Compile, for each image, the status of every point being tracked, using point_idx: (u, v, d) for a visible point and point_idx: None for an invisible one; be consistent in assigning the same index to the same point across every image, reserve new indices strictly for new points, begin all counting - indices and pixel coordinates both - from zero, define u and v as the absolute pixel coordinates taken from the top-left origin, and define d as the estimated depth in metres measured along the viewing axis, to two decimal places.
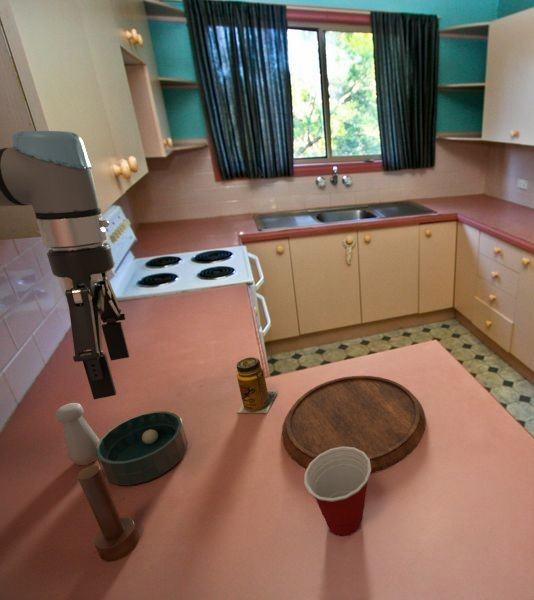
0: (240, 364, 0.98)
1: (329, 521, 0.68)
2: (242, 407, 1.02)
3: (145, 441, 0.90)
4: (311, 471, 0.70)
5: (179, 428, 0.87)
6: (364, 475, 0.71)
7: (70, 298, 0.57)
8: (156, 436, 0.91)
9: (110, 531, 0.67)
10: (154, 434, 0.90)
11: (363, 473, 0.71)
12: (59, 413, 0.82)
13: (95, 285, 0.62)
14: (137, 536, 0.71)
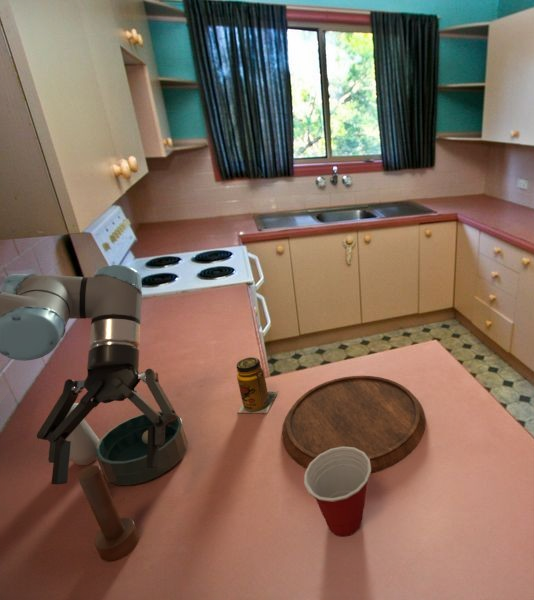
0: (240, 364, 0.98)
1: (329, 521, 0.68)
2: (242, 407, 1.02)
3: (145, 441, 0.90)
4: (311, 471, 0.70)
5: (179, 428, 0.87)
6: (364, 475, 0.71)
7: (153, 374, 0.74)
8: None
9: (110, 531, 0.67)
10: None
11: (363, 473, 0.71)
12: None
13: None
14: (137, 536, 0.71)
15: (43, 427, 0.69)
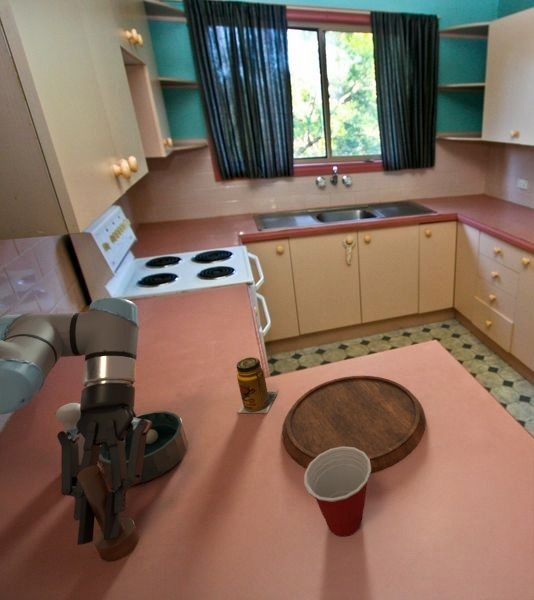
0: (240, 364, 0.98)
1: (329, 521, 0.68)
2: (242, 407, 1.02)
3: None
4: (311, 471, 0.70)
5: (179, 428, 0.87)
6: (364, 475, 0.71)
7: (145, 427, 0.70)
8: (156, 436, 0.91)
9: None
10: (154, 434, 0.90)
11: (363, 473, 0.71)
12: (59, 413, 0.82)
13: None
14: (137, 536, 0.71)
15: (63, 483, 0.65)
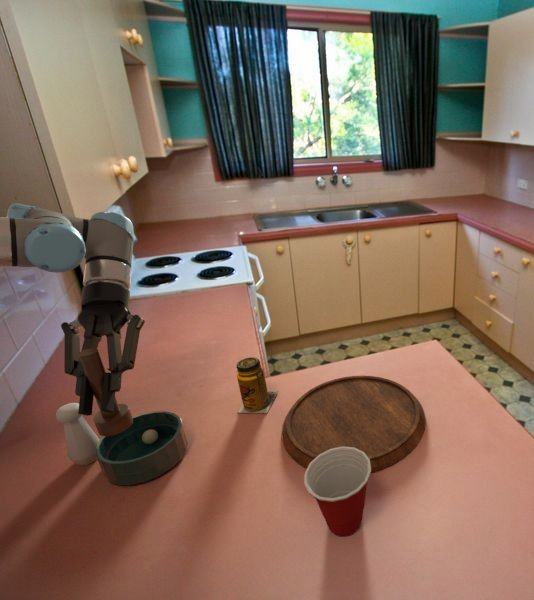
0: (240, 364, 0.98)
1: (329, 521, 0.68)
2: (242, 407, 1.02)
3: (145, 441, 0.90)
4: (311, 471, 0.70)
5: (179, 428, 0.87)
6: (364, 475, 0.71)
7: (138, 321, 0.79)
8: (156, 436, 0.91)
9: None
10: (154, 434, 0.90)
11: (363, 473, 0.71)
12: (59, 413, 0.82)
13: None
14: (131, 419, 0.80)
15: (66, 364, 0.74)
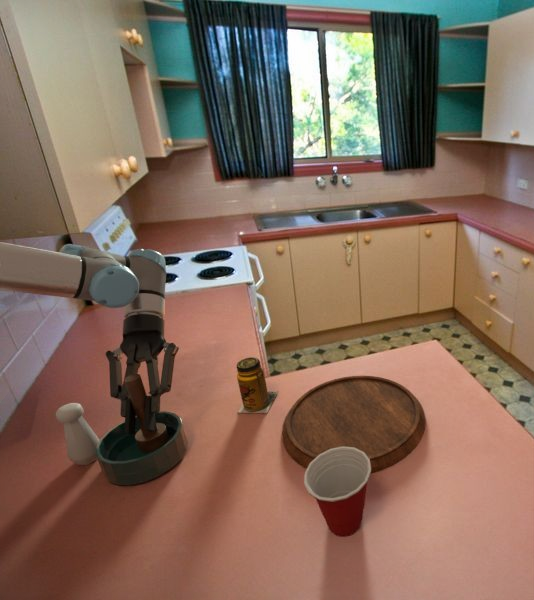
0: (240, 364, 0.98)
1: (329, 521, 0.68)
2: (242, 407, 1.02)
3: None
4: (311, 471, 0.70)
5: (179, 428, 0.87)
6: (364, 475, 0.71)
7: (173, 349, 0.88)
8: None
9: None
10: None
11: (363, 473, 0.71)
12: (59, 413, 0.82)
13: None
14: (168, 436, 0.89)
15: (112, 389, 0.83)
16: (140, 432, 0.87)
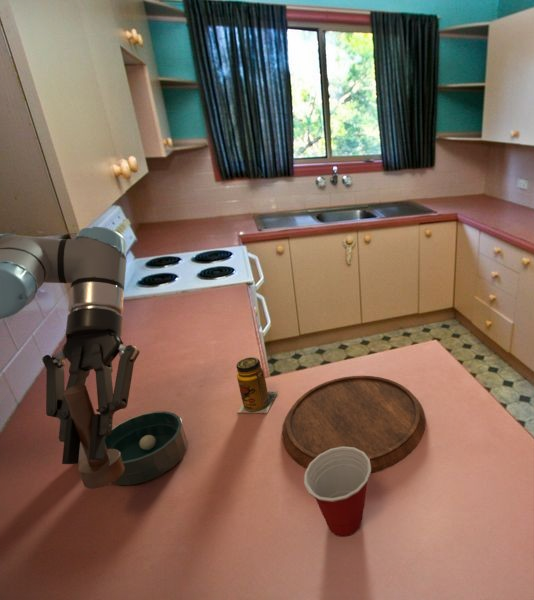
0: (240, 364, 0.98)
1: (329, 521, 0.68)
2: (242, 407, 1.02)
3: None
4: (311, 471, 0.70)
5: (179, 428, 0.87)
6: (364, 475, 0.71)
7: (132, 353, 0.69)
8: (154, 445, 0.90)
9: None
10: (152, 446, 0.89)
11: (363, 473, 0.71)
12: None
13: None
14: (123, 466, 0.69)
15: (48, 405, 0.64)
16: (86, 461, 0.67)
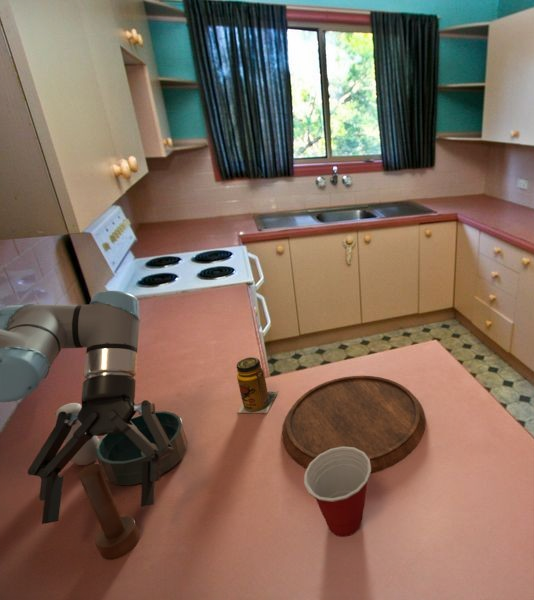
0: (240, 364, 0.98)
1: (329, 521, 0.68)
2: (242, 407, 1.02)
3: None
4: (311, 471, 0.70)
5: (179, 428, 0.87)
6: (364, 475, 0.71)
7: (150, 406, 0.72)
8: None
9: (111, 529, 0.67)
10: None
11: (363, 473, 0.71)
12: None
13: None
14: (138, 533, 0.71)
15: (34, 463, 0.66)
16: (102, 532, 0.69)
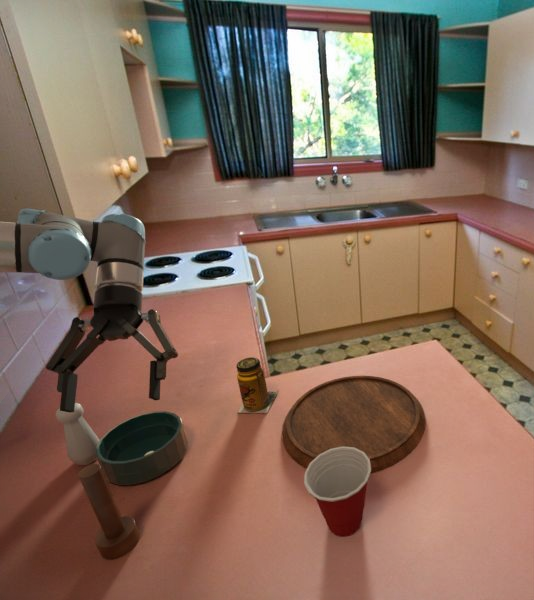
0: (240, 364, 0.98)
1: (329, 521, 0.68)
2: (242, 407, 1.02)
3: None
4: (311, 471, 0.70)
5: (179, 428, 0.87)
6: (364, 475, 0.71)
7: (156, 314, 0.79)
8: None
9: (111, 529, 0.67)
10: (152, 451, 0.85)
11: (363, 473, 0.71)
12: (59, 413, 0.82)
13: None
14: (138, 533, 0.71)
15: (52, 359, 0.73)
16: (102, 532, 0.69)
